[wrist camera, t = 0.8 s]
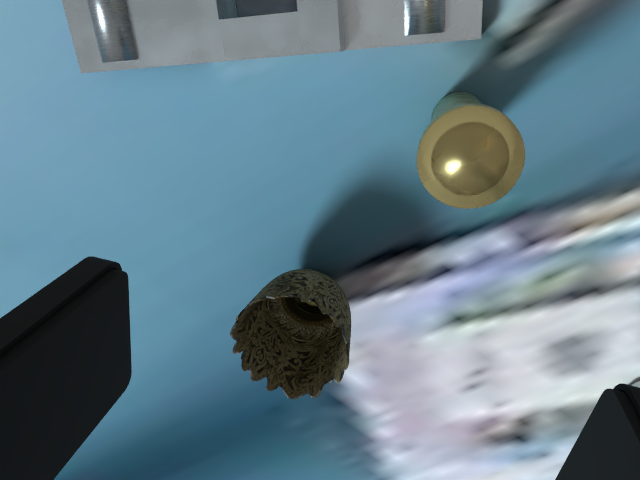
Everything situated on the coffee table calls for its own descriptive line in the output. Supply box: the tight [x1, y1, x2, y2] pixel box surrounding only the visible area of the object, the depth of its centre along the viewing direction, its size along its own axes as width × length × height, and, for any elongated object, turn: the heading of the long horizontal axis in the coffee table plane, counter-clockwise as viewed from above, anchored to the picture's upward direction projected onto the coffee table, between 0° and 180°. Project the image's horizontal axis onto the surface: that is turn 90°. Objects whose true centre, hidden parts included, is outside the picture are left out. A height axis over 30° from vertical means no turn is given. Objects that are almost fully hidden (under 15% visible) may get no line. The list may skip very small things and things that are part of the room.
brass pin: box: [417, 92, 525, 209], centre depth 25 cm, size 4×4×10 cm
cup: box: [230, 269, 351, 399], centre depth 33 cm, size 8×7×8 cm
